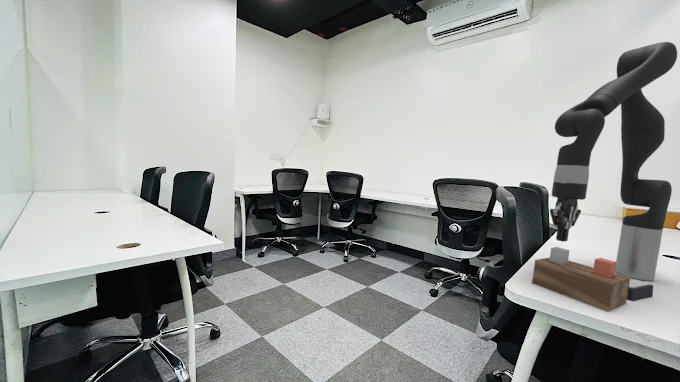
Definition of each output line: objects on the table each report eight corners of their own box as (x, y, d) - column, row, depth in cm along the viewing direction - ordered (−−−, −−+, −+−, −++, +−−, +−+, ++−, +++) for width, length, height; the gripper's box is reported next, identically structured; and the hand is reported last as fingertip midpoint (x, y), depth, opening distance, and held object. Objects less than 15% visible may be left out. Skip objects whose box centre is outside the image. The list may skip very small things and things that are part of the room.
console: (551, 277, 85) (554, 256, 84) (626, 303, 70) (630, 277, 70) (532, 282, 80) (535, 260, 79) (608, 311, 65) (612, 283, 64)
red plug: (596, 282, 72) (600, 257, 72) (612, 288, 70) (616, 261, 69) (591, 284, 71) (594, 259, 70) (607, 289, 68) (611, 263, 68)
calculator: (589, 265, 90) (654, 282, 76) (588, 278, 90) (653, 297, 76) (568, 268, 86) (633, 286, 72) (567, 281, 86) (632, 302, 72)
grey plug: (553, 269, 81) (556, 246, 81) (566, 273, 78) (569, 250, 78) (547, 270, 80) (551, 247, 79) (560, 274, 77) (564, 251, 76)
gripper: (565, 181, 83) (557, 236, 85) (543, 179, 77) (535, 238, 78) (597, 183, 76) (588, 242, 78) (575, 181, 70) (565, 246, 72)
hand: (561, 240), depth 78 cm, fingers closed
